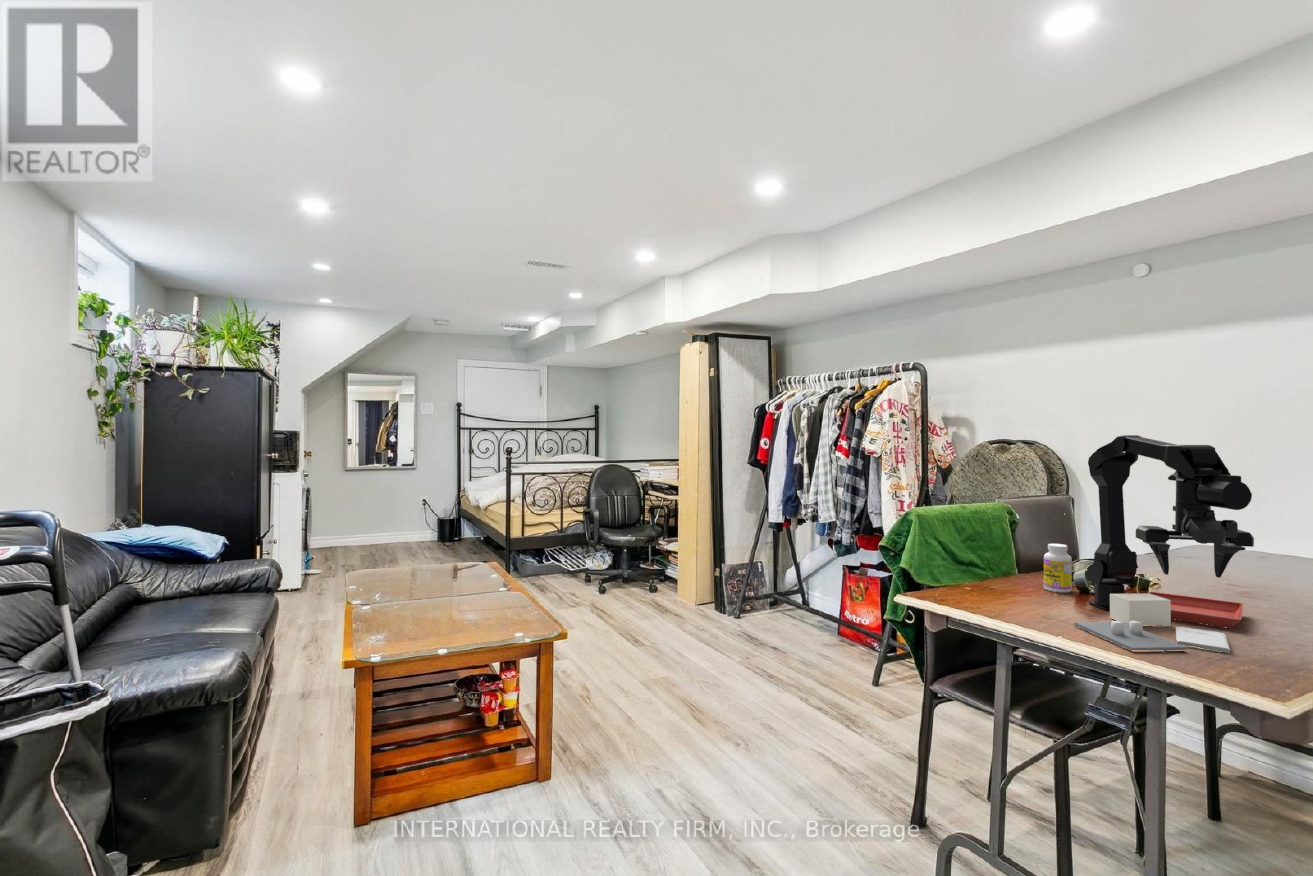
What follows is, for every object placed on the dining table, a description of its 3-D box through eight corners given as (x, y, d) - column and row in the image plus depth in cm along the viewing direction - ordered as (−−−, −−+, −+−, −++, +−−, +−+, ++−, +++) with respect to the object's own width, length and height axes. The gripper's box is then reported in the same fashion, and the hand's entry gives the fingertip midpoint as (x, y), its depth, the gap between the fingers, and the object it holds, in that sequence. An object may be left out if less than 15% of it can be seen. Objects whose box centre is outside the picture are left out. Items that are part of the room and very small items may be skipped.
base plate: (1074, 626, 141) (1074, 611, 141) (1122, 626, 141) (1122, 610, 141) (1132, 652, 124) (1132, 635, 124) (1186, 652, 124) (1186, 634, 124)
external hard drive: (1176, 648, 128) (1175, 632, 138) (1230, 656, 123) (1225, 640, 133) (1176, 640, 128) (1175, 625, 138) (1230, 648, 123) (1225, 632, 133)
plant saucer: (1138, 617, 149) (1138, 604, 149) (1148, 603, 162) (1148, 590, 162) (1241, 634, 136) (1241, 619, 136) (1243, 617, 149) (1243, 603, 149)
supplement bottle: (1038, 588, 176) (1037, 543, 176) (1055, 586, 178) (1055, 542, 178) (1059, 594, 170) (1059, 547, 170) (1077, 592, 172) (1077, 546, 172)
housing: (1129, 626, 141) (1129, 600, 141) (1109, 618, 147) (1109, 593, 147) (1170, 626, 141) (1170, 600, 141) (1149, 618, 147) (1149, 593, 147)
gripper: (1159, 507, 127) (1157, 582, 127) (1272, 510, 121) (1270, 588, 122) (1134, 500, 137) (1134, 569, 138) (1238, 502, 132) (1236, 575, 132)
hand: (1191, 575), depth 132 cm, fingers open, 9 cm apart
